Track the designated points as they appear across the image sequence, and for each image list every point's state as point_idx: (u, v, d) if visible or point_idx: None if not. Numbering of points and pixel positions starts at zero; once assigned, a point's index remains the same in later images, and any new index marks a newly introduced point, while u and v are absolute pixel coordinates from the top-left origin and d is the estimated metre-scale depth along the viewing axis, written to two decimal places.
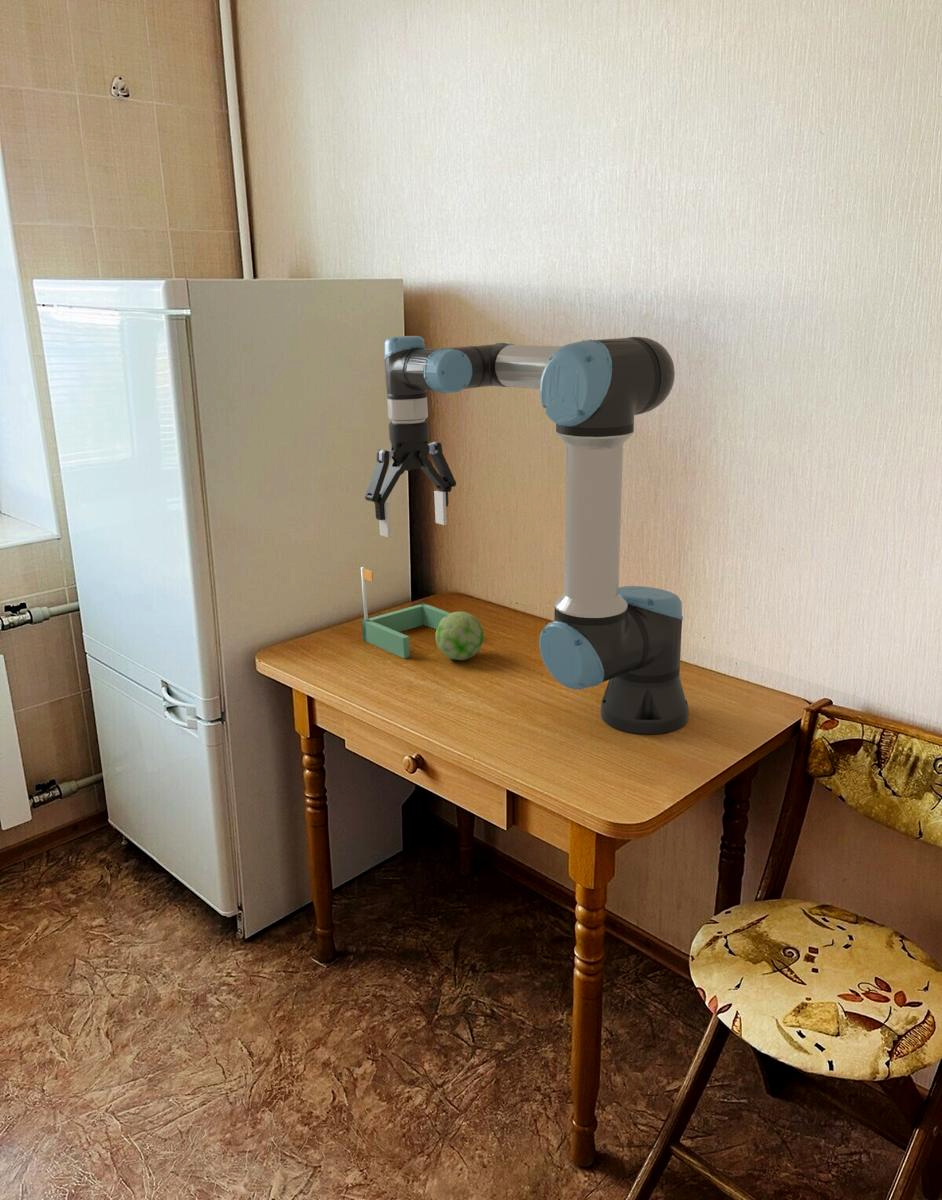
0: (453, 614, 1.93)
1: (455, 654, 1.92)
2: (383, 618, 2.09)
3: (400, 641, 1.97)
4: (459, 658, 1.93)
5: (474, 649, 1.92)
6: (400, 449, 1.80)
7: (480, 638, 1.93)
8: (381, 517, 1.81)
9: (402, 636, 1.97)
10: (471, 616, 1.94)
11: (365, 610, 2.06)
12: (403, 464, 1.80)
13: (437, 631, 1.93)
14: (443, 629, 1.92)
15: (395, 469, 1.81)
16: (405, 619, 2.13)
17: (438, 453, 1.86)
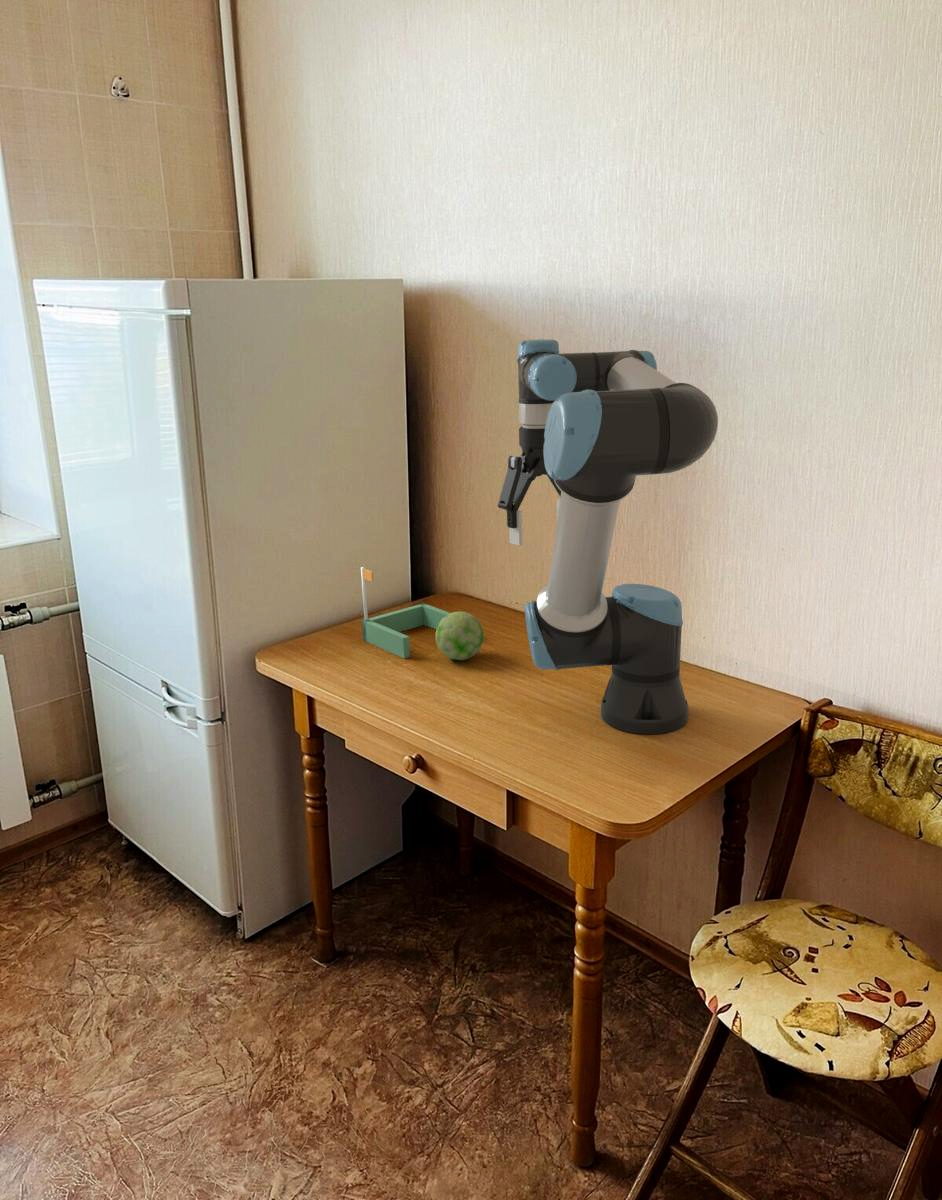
0: (453, 614, 1.93)
1: (455, 654, 1.92)
2: (383, 618, 2.09)
3: (400, 641, 1.97)
4: (459, 658, 1.93)
5: (474, 649, 1.92)
6: (531, 454, 1.76)
7: (480, 638, 1.93)
8: (513, 525, 1.78)
9: (402, 636, 1.97)
10: (471, 616, 1.94)
11: (365, 610, 2.06)
12: (534, 470, 1.77)
13: (437, 631, 1.93)
14: (443, 629, 1.92)
15: (526, 475, 1.77)
16: (405, 619, 2.13)
17: None
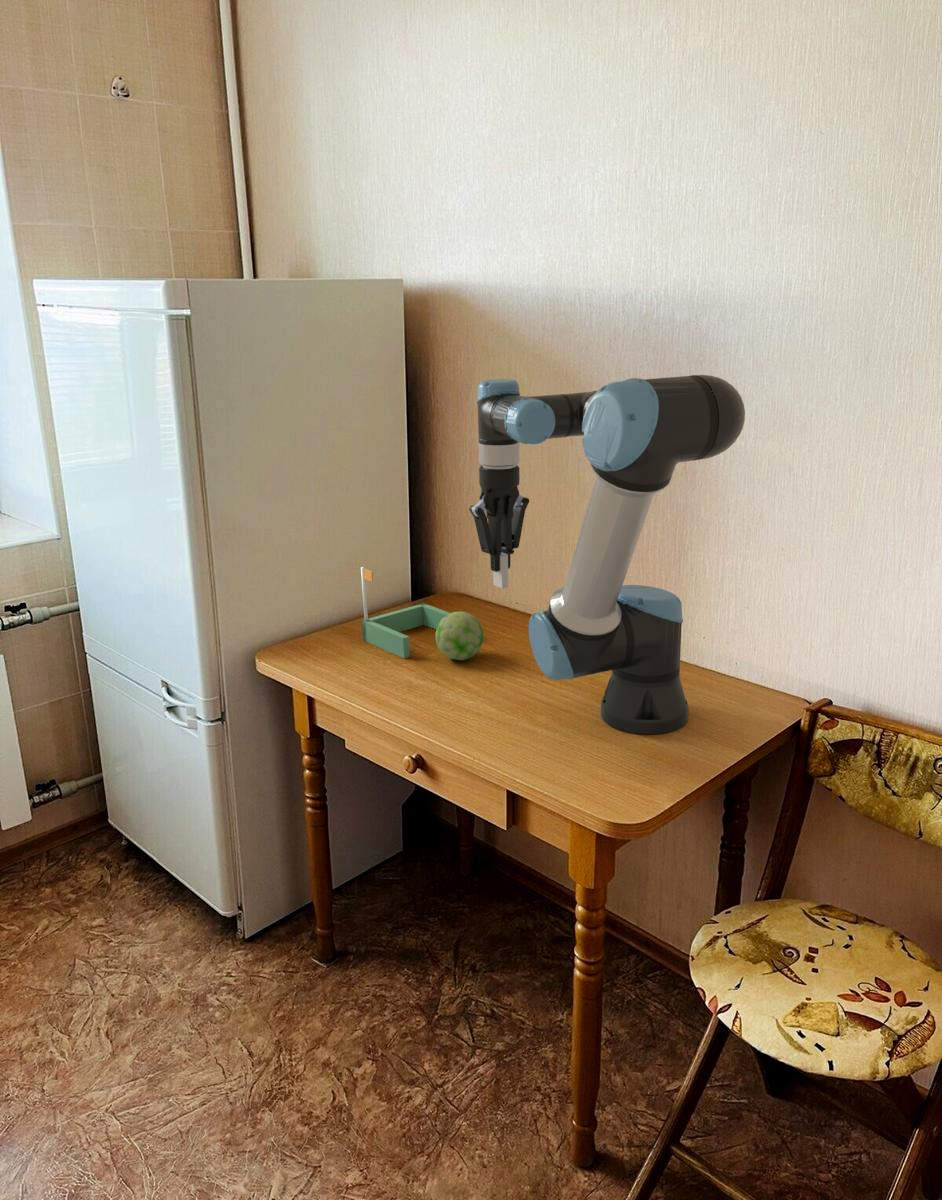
0: (453, 614, 1.93)
1: (455, 654, 1.92)
2: (383, 618, 2.09)
3: (400, 641, 1.97)
4: (459, 658, 1.93)
5: (474, 649, 1.92)
6: (488, 496, 1.75)
7: (480, 638, 1.93)
8: (496, 568, 1.82)
9: (402, 636, 1.97)
10: (471, 616, 1.94)
11: (365, 610, 2.06)
12: (498, 512, 1.77)
13: (437, 631, 1.93)
14: (443, 629, 1.92)
15: (493, 519, 1.78)
16: (405, 619, 2.13)
17: (522, 507, 1.81)
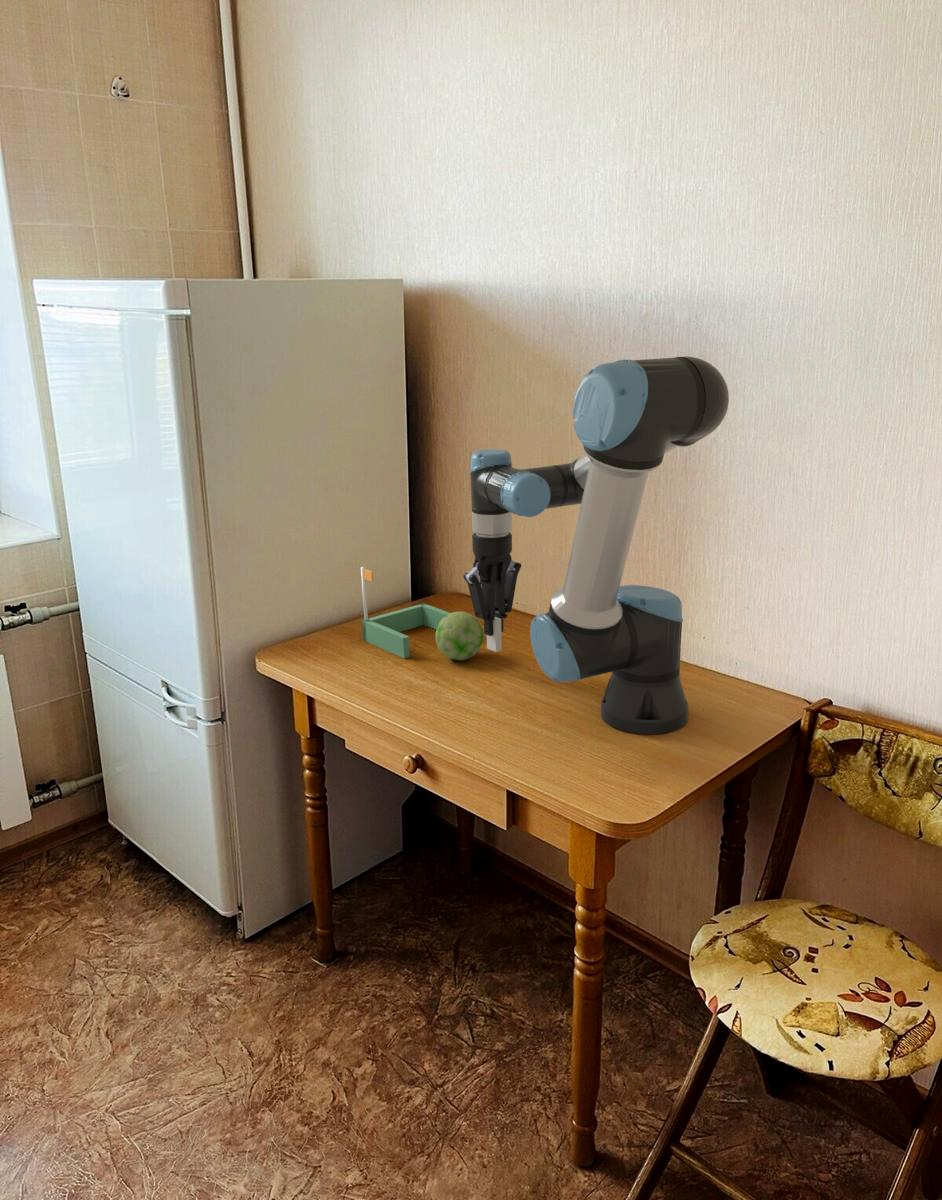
0: (453, 614, 1.93)
1: (455, 654, 1.92)
2: (383, 618, 2.09)
3: (400, 641, 1.97)
4: (459, 658, 1.93)
5: (474, 649, 1.92)
6: (482, 563, 1.78)
7: (480, 638, 1.93)
8: (490, 632, 1.84)
9: (402, 636, 1.97)
10: (471, 616, 1.94)
11: (365, 610, 2.06)
12: (492, 579, 1.80)
13: (437, 631, 1.93)
14: (443, 629, 1.92)
15: (487, 585, 1.81)
16: (405, 619, 2.13)
17: (514, 572, 1.84)
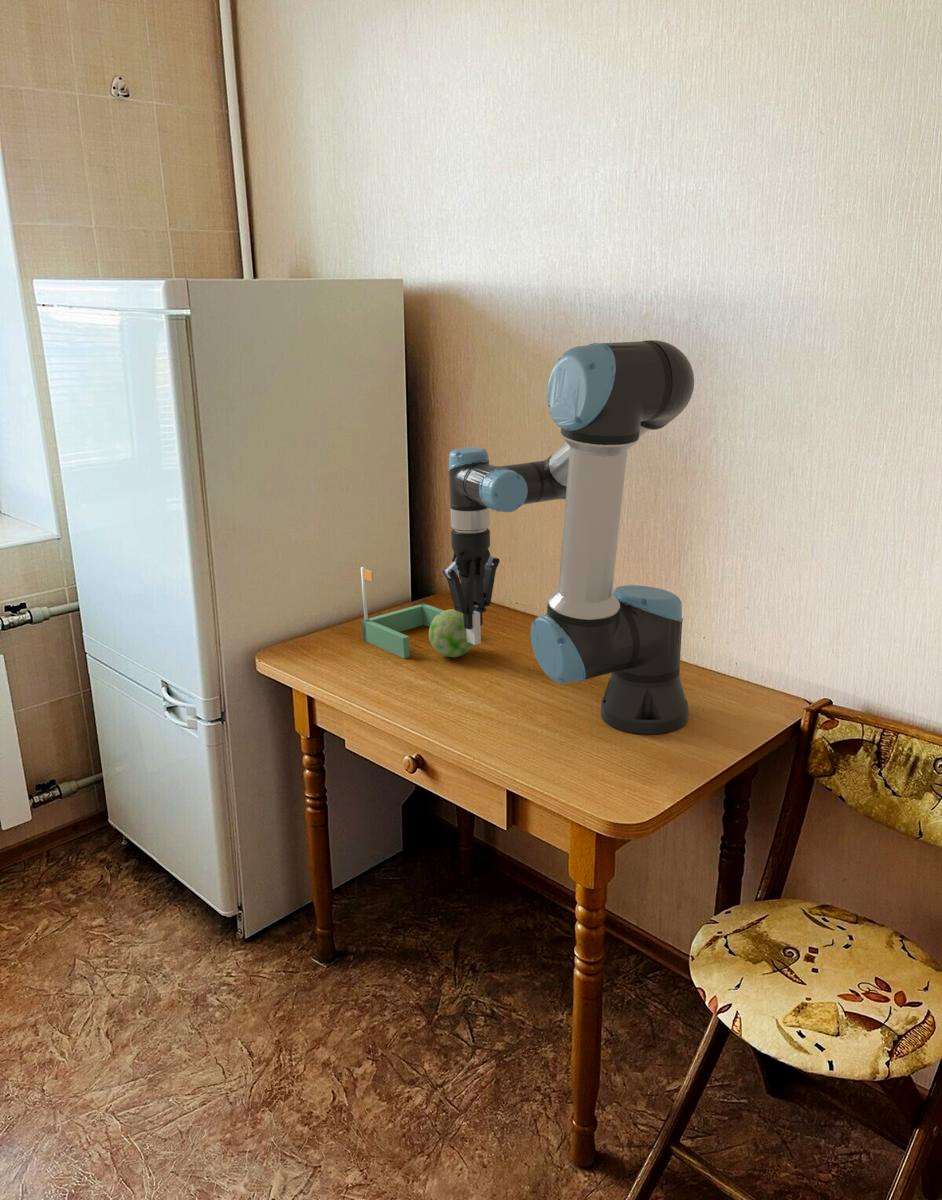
0: (446, 612, 1.95)
1: (449, 651, 1.93)
2: (383, 618, 2.09)
3: (400, 641, 1.97)
4: (453, 655, 1.95)
5: (468, 646, 1.94)
6: (460, 558, 1.83)
7: None
8: (469, 626, 1.89)
9: (402, 636, 1.97)
10: None
11: (365, 610, 2.06)
12: (470, 574, 1.85)
13: (430, 628, 1.95)
14: (436, 626, 1.93)
15: (465, 580, 1.86)
16: (405, 619, 2.13)
17: (493, 567, 1.89)
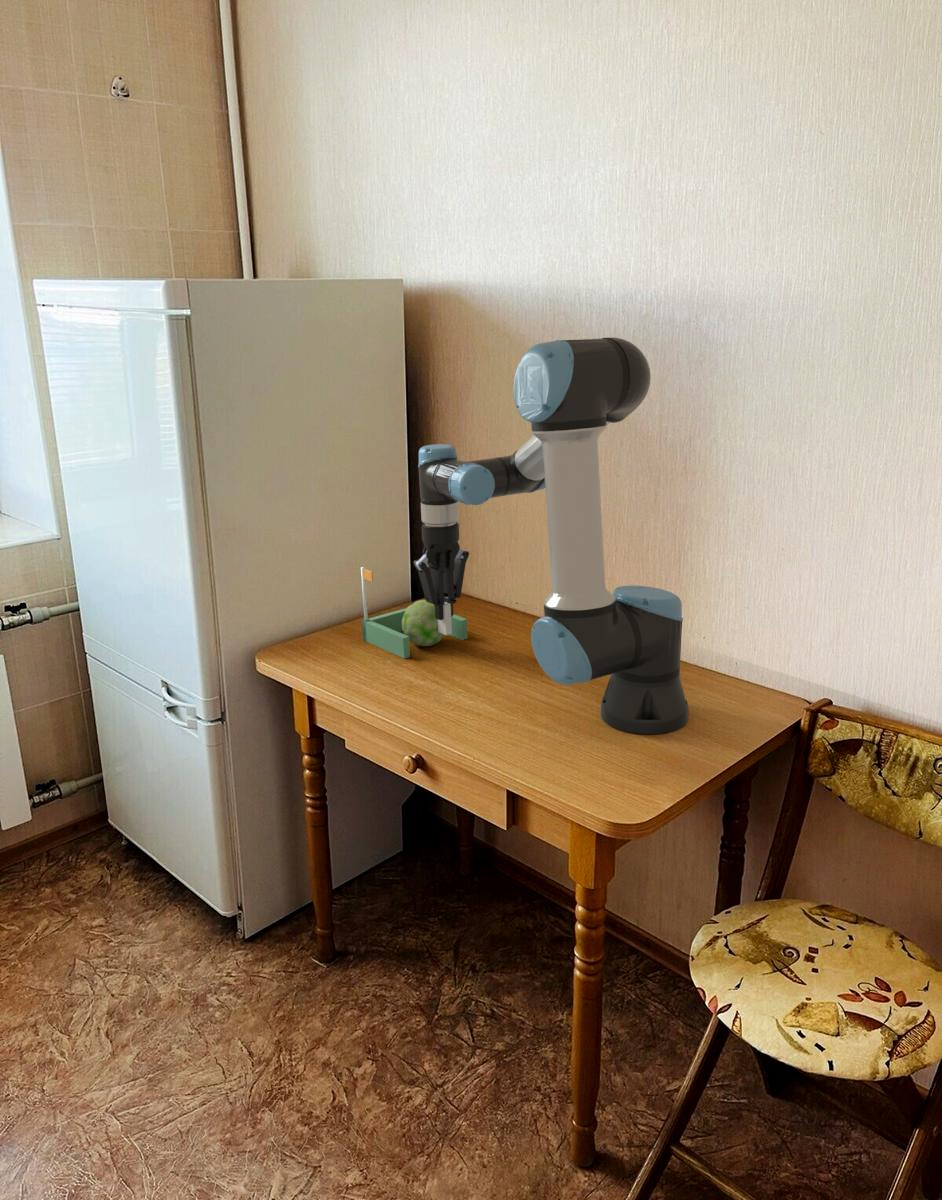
0: (418, 602, 2.01)
1: (422, 640, 2.00)
2: (383, 618, 2.09)
3: (400, 641, 1.97)
4: (425, 644, 2.01)
5: (440, 635, 2.01)
6: (430, 551, 1.90)
7: None
8: (440, 617, 1.96)
9: (402, 636, 1.97)
10: None
11: (365, 610, 2.06)
12: (440, 566, 1.92)
13: (403, 618, 2.01)
14: (409, 616, 2.00)
15: (436, 572, 1.93)
16: None
17: (462, 559, 1.96)
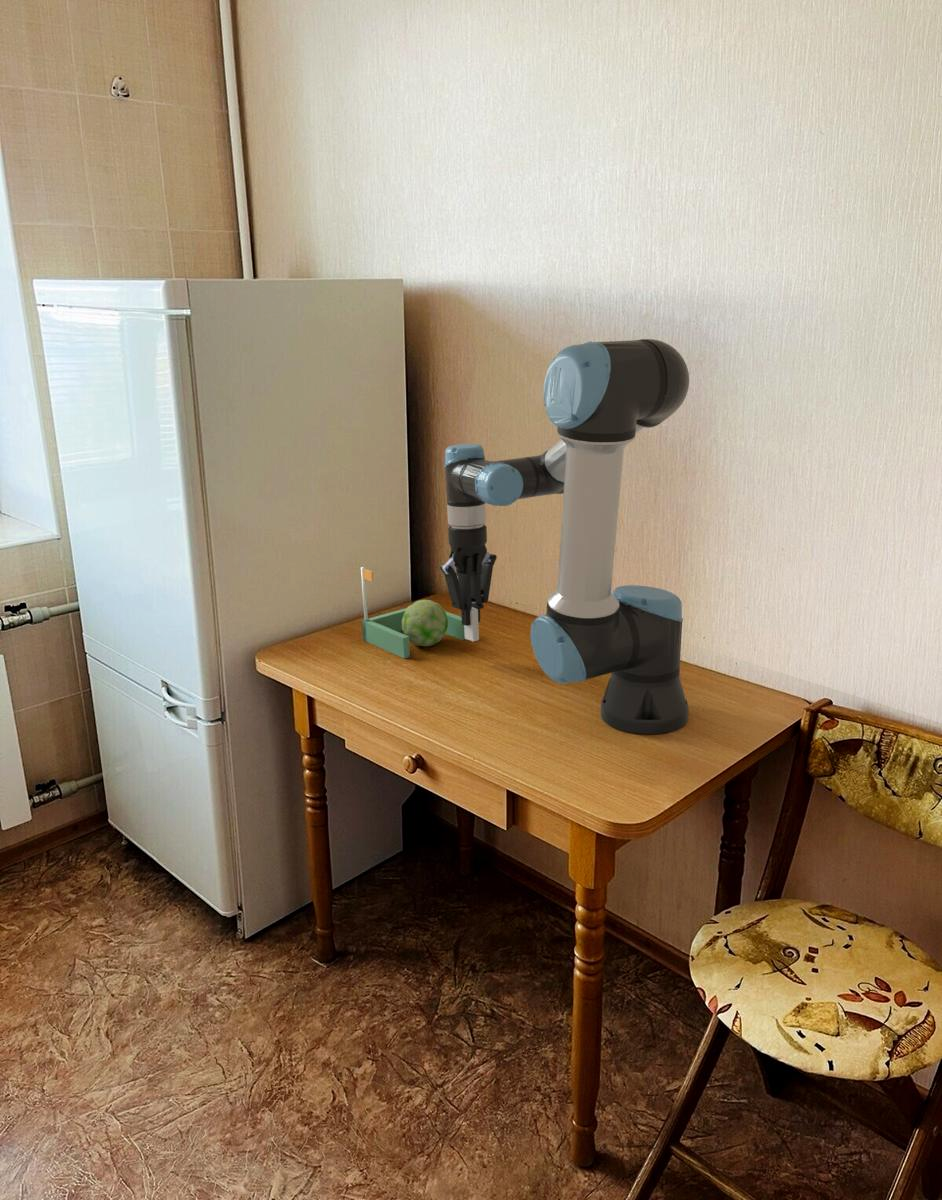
0: (418, 602, 2.01)
1: (422, 640, 2.00)
2: (383, 618, 2.09)
3: (400, 641, 1.97)
4: (425, 644, 2.01)
5: (440, 635, 2.01)
6: (458, 554, 1.84)
7: (445, 625, 2.01)
8: (467, 622, 1.90)
9: (402, 636, 1.97)
10: (436, 604, 2.02)
11: (365, 610, 2.06)
12: (468, 570, 1.86)
13: (403, 618, 2.01)
14: (409, 616, 2.00)
15: (463, 576, 1.87)
16: None
17: (490, 563, 1.90)
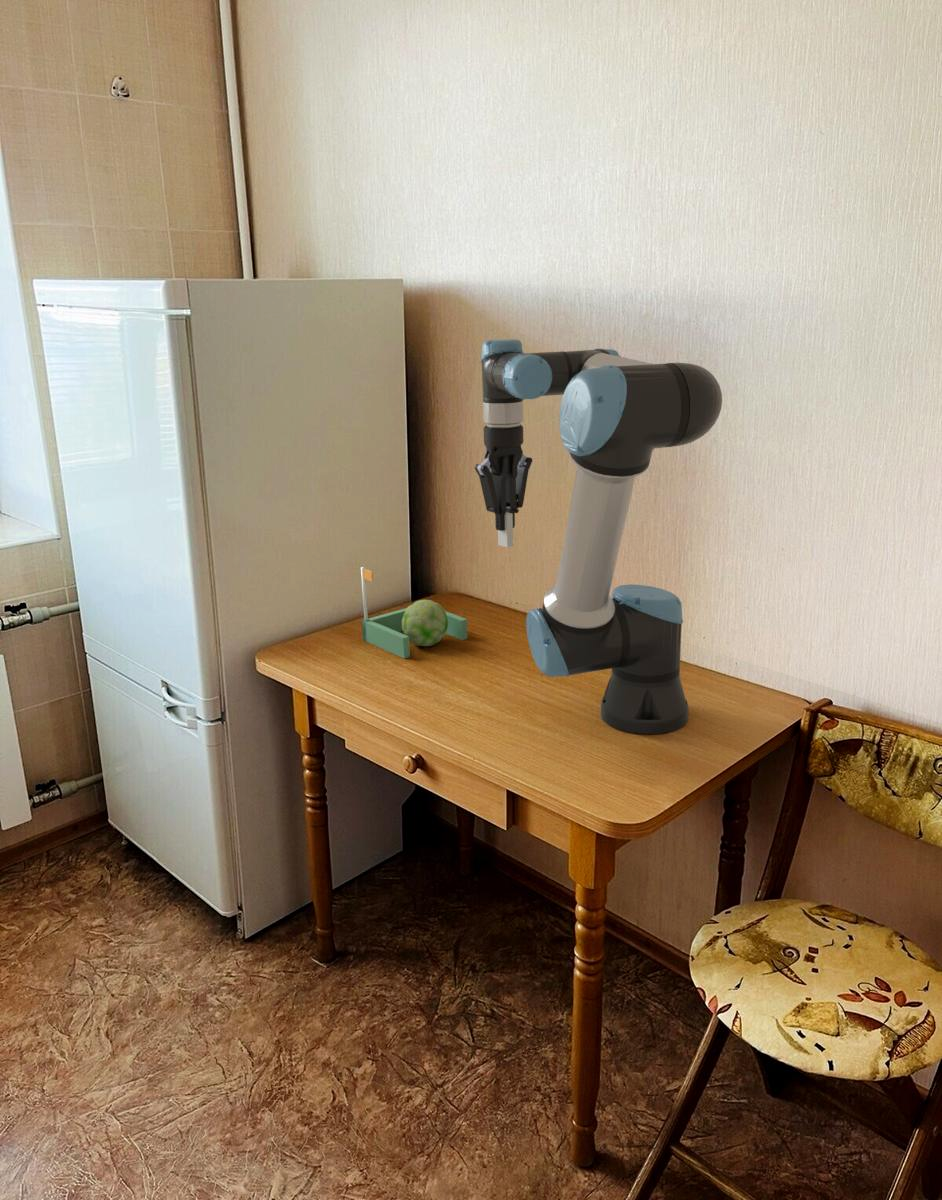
0: (418, 602, 2.01)
1: (421, 640, 2.00)
2: (383, 618, 2.09)
3: (400, 641, 1.97)
4: (425, 644, 2.01)
5: (440, 635, 2.01)
6: (493, 454, 1.78)
7: (445, 625, 2.01)
8: (502, 527, 1.84)
9: (402, 636, 1.97)
10: (436, 604, 2.02)
11: (365, 610, 2.06)
12: (503, 471, 1.80)
13: (403, 618, 2.01)
14: (409, 616, 2.00)
15: (498, 478, 1.81)
16: None
17: (525, 466, 1.84)
